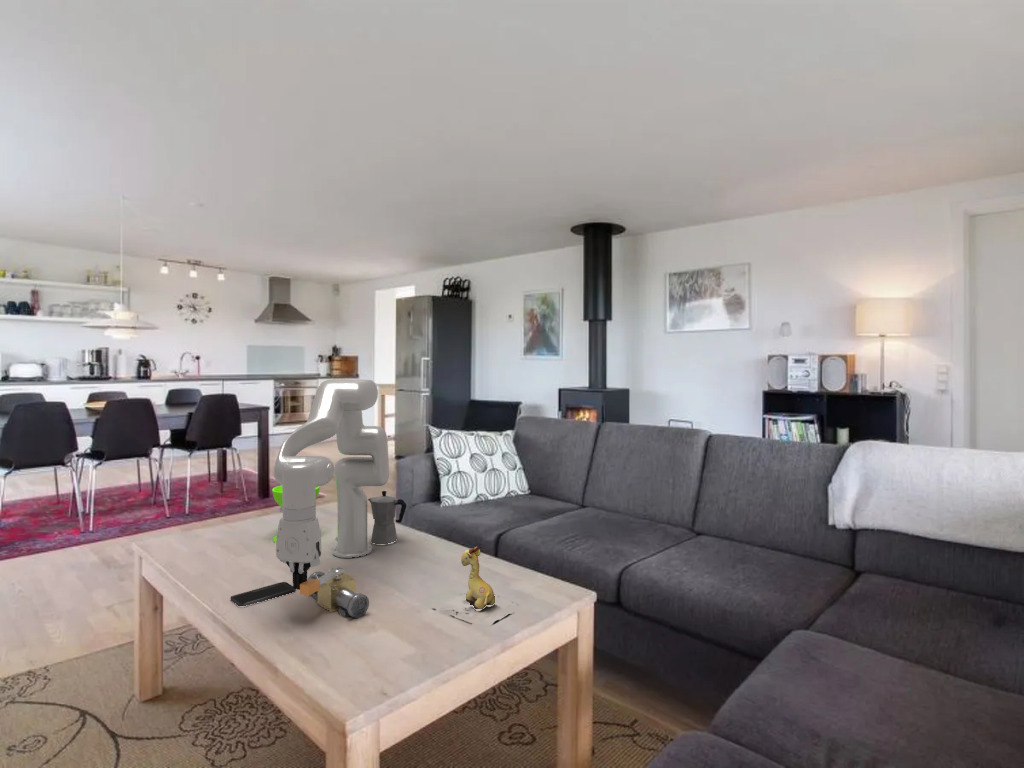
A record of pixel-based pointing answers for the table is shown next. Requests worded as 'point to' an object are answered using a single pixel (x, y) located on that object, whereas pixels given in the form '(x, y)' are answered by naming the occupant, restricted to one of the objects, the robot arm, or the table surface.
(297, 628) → the table surface
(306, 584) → the valve lever
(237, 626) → the table surface
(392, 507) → the coffeepot
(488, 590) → the stuffed giraffe
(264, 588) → the phone
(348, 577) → the valve pipe
